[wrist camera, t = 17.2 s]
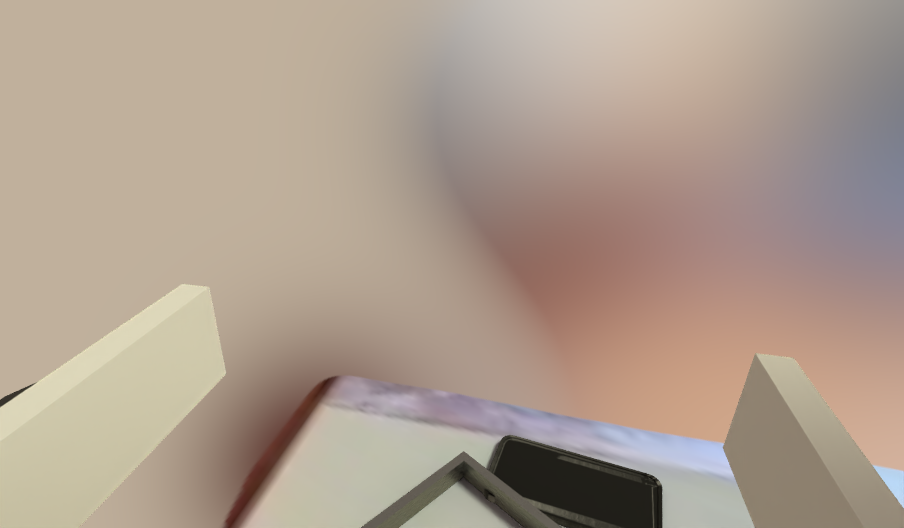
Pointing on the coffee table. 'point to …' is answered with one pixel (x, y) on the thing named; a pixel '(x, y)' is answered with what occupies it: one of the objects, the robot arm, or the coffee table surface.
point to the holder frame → (444, 478)
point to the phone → (577, 486)
